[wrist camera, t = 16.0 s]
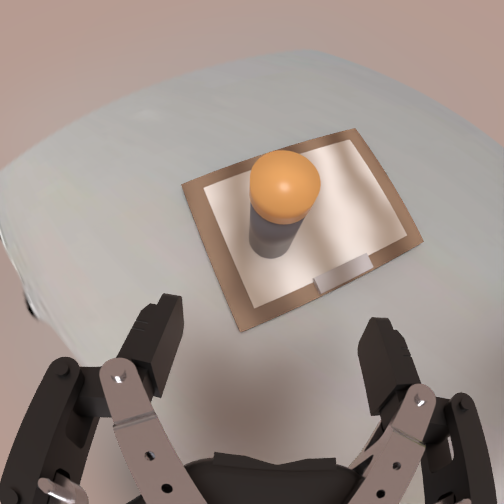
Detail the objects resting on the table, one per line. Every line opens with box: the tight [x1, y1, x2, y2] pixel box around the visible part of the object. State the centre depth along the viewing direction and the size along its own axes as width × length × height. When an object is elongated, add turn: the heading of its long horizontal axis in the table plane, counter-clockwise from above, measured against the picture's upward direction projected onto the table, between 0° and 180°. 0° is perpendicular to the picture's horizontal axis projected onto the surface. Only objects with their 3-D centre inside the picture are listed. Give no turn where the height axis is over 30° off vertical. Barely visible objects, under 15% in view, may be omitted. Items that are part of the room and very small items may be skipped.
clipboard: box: [181, 128, 424, 332], centre depth 28 cm, size 22×16×2 cm
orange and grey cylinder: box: [249, 150, 321, 259], centre depth 21 cm, size 4×4×11 cm
